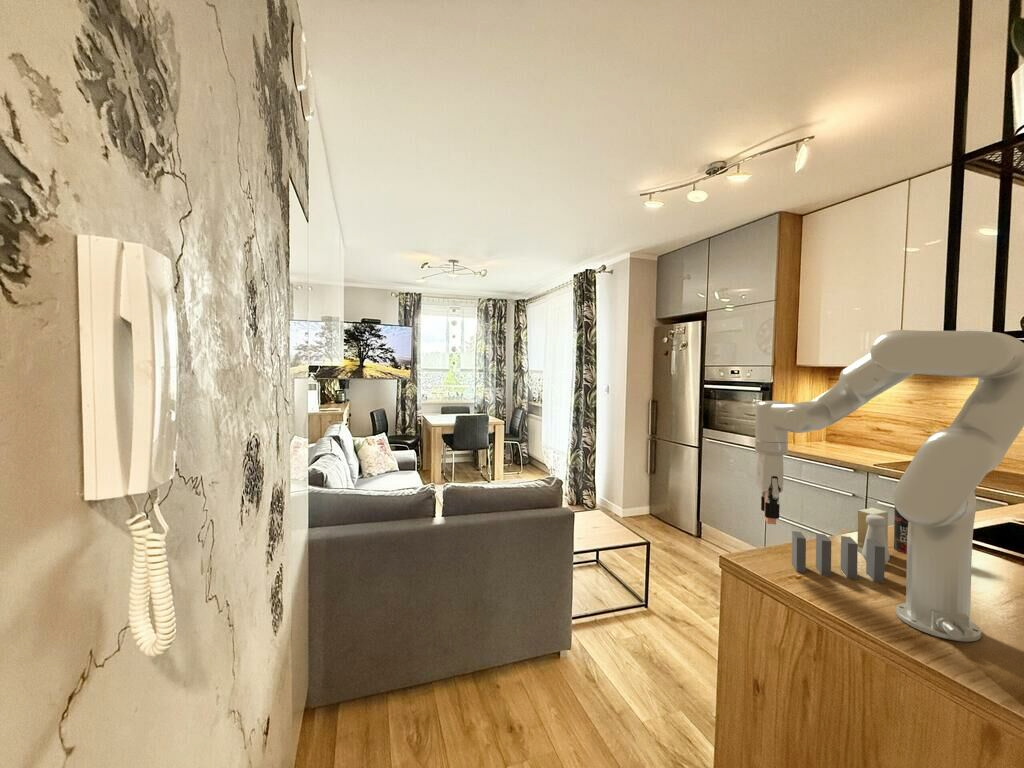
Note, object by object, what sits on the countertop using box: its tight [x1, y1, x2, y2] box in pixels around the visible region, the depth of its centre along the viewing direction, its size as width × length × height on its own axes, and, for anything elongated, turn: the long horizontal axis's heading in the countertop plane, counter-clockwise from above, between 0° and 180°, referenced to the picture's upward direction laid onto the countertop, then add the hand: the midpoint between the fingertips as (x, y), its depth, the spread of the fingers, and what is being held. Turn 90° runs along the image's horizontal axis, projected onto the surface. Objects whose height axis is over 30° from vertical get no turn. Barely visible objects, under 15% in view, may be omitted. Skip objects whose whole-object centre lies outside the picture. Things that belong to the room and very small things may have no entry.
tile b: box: [815, 533, 832, 577], centre depth 115 cm, size 5×2×9 cm, turn 160°
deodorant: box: [893, 506, 909, 555], centre depth 127 cm, size 6×6×15 cm
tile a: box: [791, 530, 807, 574], centre depth 116 cm, size 5×2×9 cm, turn 159°
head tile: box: [763, 489, 777, 525], centre depth 119 cm, size 5×2×9 cm, turn 159°
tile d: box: [865, 539, 886, 584], centre depth 111 cm, size 5×2×9 cm, turn 160°
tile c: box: [840, 535, 858, 580], centre depth 113 cm, size 5×2×9 cm, turn 160°
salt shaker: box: [861, 514, 891, 566], centre depth 119 cm, size 6×6×13 cm
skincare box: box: [857, 507, 889, 554], centre depth 126 cm, size 6×4×12 cm
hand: (769, 513), depth 119 cm, fingers closed on head tile, 4 cm apart
